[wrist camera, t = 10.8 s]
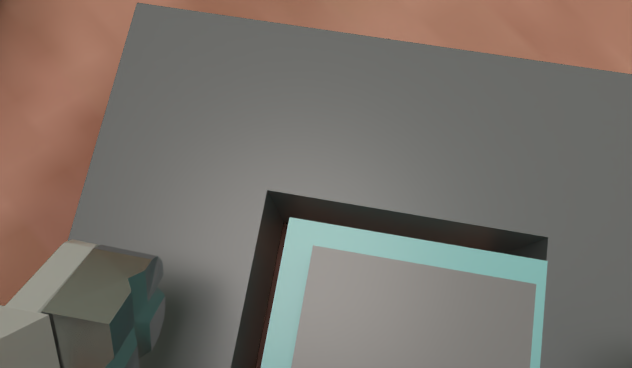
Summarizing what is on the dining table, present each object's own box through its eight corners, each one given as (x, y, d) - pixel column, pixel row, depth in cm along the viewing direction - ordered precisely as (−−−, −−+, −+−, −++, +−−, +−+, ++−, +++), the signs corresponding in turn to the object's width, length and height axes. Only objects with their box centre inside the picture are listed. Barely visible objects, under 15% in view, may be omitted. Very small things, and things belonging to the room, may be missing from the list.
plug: (281, 410, 14) (221, 522, 6) (308, 262, 15) (284, 203, 7) (431, 440, 14) (556, 593, 6) (449, 287, 15) (577, 253, 7)
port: (51, 582, 13) (-90, 717, 9) (182, 76, 17) (127, -13, 12) (623, 713, 12) (789, 938, 8) (642, 146, 16) (766, 78, 11)
